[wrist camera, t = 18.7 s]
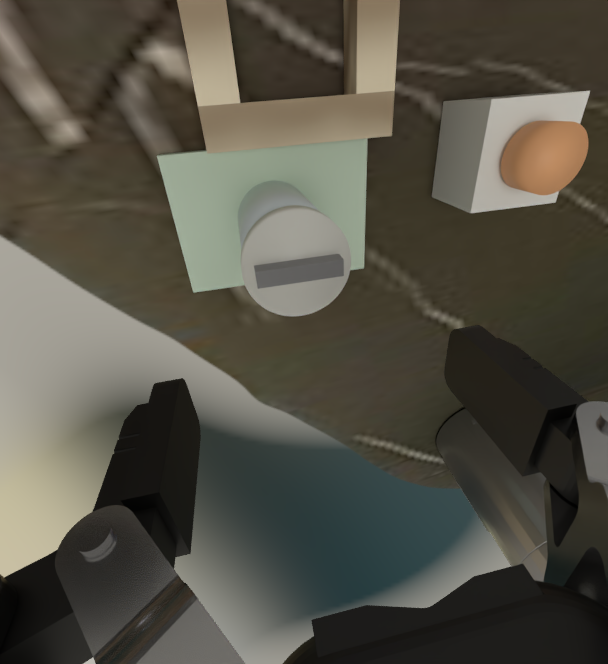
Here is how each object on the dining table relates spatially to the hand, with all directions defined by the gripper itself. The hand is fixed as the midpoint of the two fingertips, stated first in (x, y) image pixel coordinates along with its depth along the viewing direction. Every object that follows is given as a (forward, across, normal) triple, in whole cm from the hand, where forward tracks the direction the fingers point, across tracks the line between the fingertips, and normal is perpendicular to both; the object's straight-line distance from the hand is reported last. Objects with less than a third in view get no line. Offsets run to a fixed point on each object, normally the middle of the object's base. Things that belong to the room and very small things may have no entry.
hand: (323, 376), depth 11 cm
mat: (+17, 0, -1) cm, 17 cm away
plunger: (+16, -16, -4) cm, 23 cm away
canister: (+16, 0, -1) cm, 16 cm away
